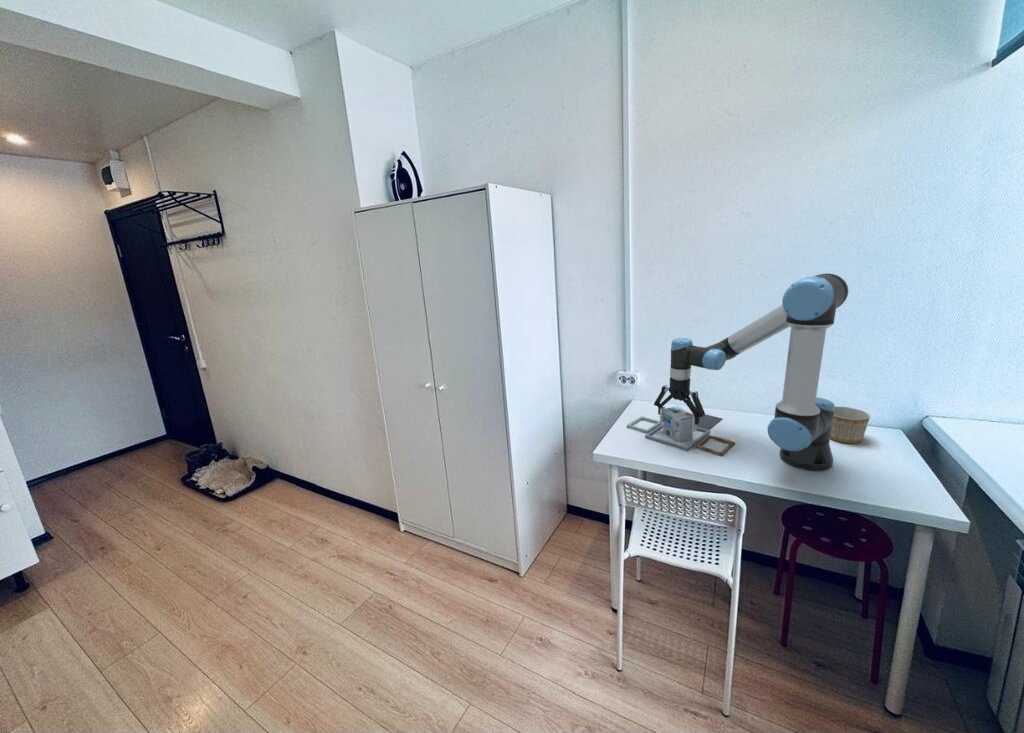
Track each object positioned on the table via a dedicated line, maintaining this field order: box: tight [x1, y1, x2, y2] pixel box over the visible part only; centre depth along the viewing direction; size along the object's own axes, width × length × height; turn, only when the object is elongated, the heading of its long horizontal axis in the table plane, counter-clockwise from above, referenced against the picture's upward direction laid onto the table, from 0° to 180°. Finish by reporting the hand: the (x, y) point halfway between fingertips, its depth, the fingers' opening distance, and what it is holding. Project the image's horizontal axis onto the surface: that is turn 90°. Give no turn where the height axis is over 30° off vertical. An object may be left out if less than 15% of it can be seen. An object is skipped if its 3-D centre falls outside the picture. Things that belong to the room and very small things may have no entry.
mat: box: [697, 413, 723, 431], centre depth 178 cm, size 11×15×1 cm
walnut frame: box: [694, 434, 736, 457], centre depth 157 cm, size 10×12×1 cm
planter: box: [830, 406, 871, 445], centre depth 154 cm, size 13×13×10 cm
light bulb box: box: [662, 405, 694, 443], centre depth 166 cm, size 11×7×11 cm, turn 17°
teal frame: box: [626, 415, 663, 434], centre depth 178 cm, size 10×12×1 cm
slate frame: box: [644, 423, 711, 452], centre depth 168 cm, size 18×20×1 cm
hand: (677, 426), depth 167 cm, fingers open, 13 cm apart
